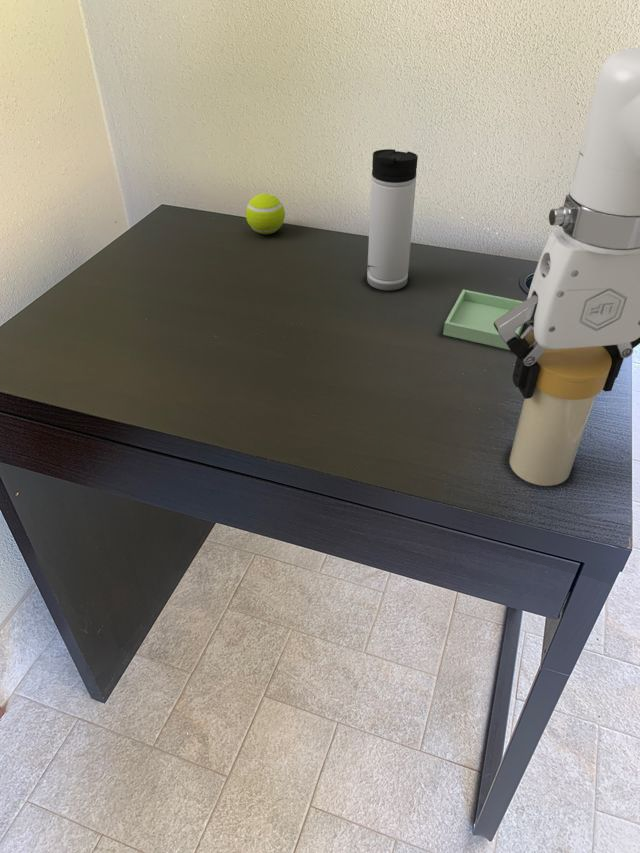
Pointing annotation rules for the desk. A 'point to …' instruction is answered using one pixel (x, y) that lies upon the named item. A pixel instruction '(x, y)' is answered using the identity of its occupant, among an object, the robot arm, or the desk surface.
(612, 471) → the desk surface
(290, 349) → the desk surface
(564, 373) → the lid
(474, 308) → the tray
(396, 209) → the travel mug
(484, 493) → the desk surface
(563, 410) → the jar
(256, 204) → the tennis ball
